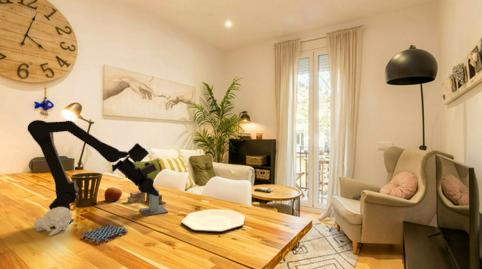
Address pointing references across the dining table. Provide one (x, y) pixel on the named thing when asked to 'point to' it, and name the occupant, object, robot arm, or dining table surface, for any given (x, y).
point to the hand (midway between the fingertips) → (157, 194)
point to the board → (153, 202)
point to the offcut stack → (136, 197)
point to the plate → (213, 220)
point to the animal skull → (54, 220)
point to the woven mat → (104, 234)
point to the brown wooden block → (159, 199)
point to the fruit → (112, 194)
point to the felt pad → (147, 212)
